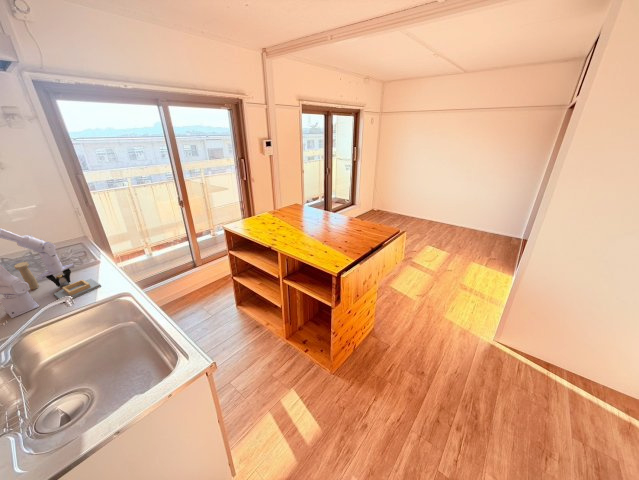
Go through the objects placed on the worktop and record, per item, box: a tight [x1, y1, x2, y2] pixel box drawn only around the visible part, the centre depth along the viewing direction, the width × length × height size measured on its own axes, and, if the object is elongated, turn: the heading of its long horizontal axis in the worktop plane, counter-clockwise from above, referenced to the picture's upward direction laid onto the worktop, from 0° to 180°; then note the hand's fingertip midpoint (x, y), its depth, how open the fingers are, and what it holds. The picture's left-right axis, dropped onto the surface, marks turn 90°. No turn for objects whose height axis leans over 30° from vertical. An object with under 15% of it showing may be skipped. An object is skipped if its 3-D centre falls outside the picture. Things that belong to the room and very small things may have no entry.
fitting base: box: [53, 278, 102, 299], centre depth 134 cm, size 16×12×3 cm
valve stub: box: [55, 274, 71, 289], centre depth 137 cm, size 4×4×7 cm
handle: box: [13, 261, 40, 291], centre depth 134 cm, size 5×6×15 cm
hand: (63, 284), depth 138 cm, fingers closed on valve stub, 4 cm apart
